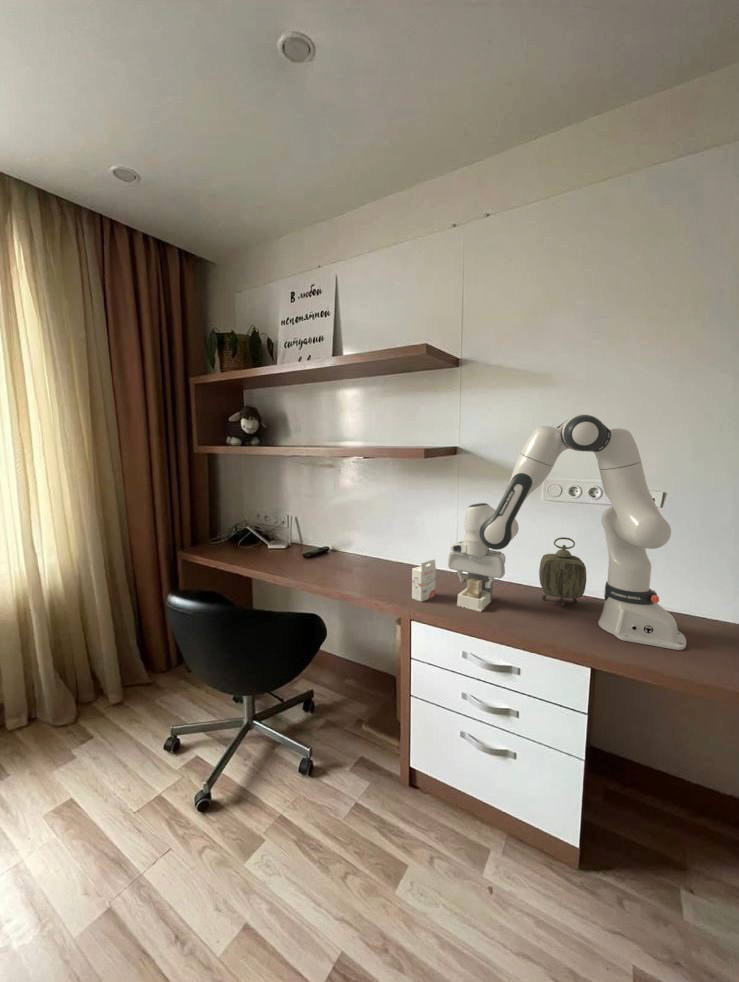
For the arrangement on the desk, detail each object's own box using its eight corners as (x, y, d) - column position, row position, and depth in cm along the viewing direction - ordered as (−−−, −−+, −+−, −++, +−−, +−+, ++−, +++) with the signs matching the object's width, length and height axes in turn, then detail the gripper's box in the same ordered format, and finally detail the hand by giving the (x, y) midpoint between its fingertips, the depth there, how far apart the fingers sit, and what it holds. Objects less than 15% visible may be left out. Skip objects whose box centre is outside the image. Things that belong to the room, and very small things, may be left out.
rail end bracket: (481, 600, 144) (482, 579, 143) (477, 604, 140) (478, 583, 139) (471, 598, 146) (472, 577, 145) (466, 602, 143) (467, 580, 142)
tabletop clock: (579, 601, 146) (584, 536, 144) (585, 611, 138) (590, 542, 135) (537, 597, 150) (541, 533, 147) (541, 606, 142) (545, 539, 139)
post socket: (492, 600, 146) (493, 575, 145) (481, 611, 137) (482, 584, 136) (468, 595, 152) (469, 570, 150) (456, 605, 142) (457, 578, 141)
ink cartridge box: (425, 592, 154) (426, 556, 152) (435, 596, 150) (436, 559, 149) (410, 598, 148) (411, 560, 147) (421, 602, 145) (422, 563, 143)
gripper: (508, 550, 138) (506, 588, 139) (453, 542, 149) (452, 577, 151) (502, 554, 132) (501, 593, 134) (446, 545, 144) (445, 581, 146)
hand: (475, 584), depth 142 cm, fingers open, 8 cm apart
